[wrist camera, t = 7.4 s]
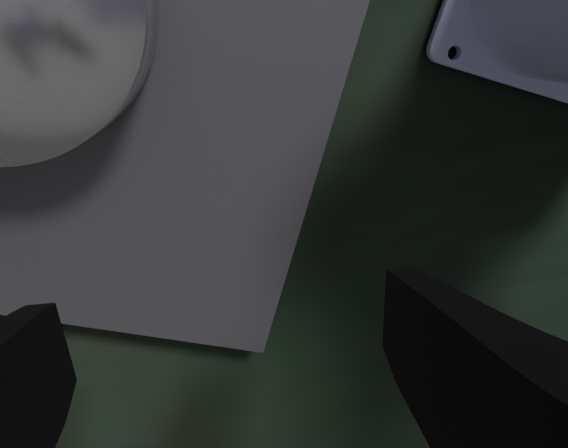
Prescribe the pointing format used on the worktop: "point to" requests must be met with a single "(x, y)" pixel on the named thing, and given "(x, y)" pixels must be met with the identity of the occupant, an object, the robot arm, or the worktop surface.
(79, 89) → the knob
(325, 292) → the worktop surface
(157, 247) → the base plate
